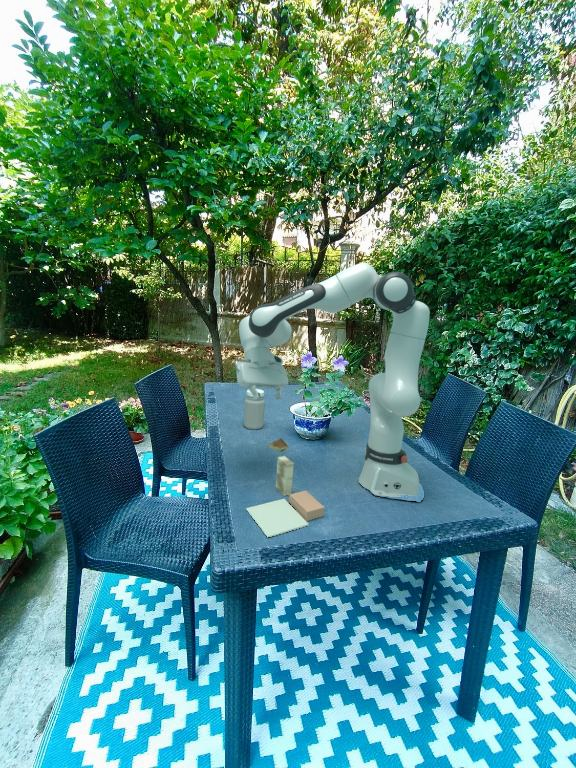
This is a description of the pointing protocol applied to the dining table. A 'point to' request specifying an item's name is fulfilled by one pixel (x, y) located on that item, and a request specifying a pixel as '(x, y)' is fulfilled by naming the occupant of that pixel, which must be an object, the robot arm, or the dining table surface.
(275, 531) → the rubber mat
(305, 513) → the terracotta step
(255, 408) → the jar
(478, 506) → the dining table surface
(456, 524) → the dining table surface
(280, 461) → the birch block
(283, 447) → the shard
